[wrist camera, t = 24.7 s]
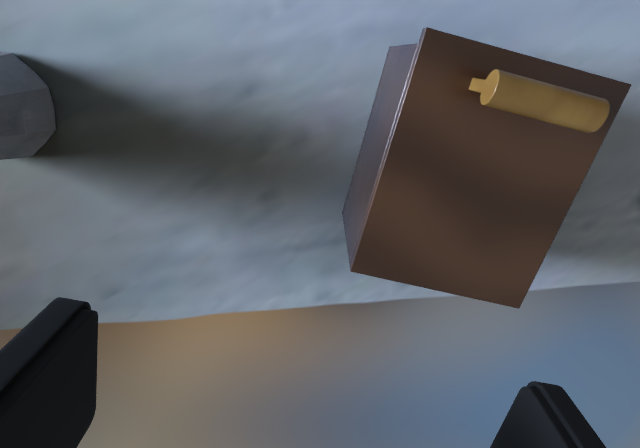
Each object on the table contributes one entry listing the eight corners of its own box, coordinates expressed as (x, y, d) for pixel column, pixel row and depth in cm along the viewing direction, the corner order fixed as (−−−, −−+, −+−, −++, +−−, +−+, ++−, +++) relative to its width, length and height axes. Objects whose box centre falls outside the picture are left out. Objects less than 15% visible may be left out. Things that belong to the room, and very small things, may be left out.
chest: (389, 46, 34) (418, 42, 24) (531, 85, 36) (614, 97, 26) (342, 212, 40) (349, 265, 30) (466, 241, 41) (514, 302, 31)
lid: (422, 27, 24) (447, 22, 19) (623, 83, 25) (691, 90, 20) (349, 266, 30) (354, 305, 25) (514, 302, 31) (548, 346, 26)
